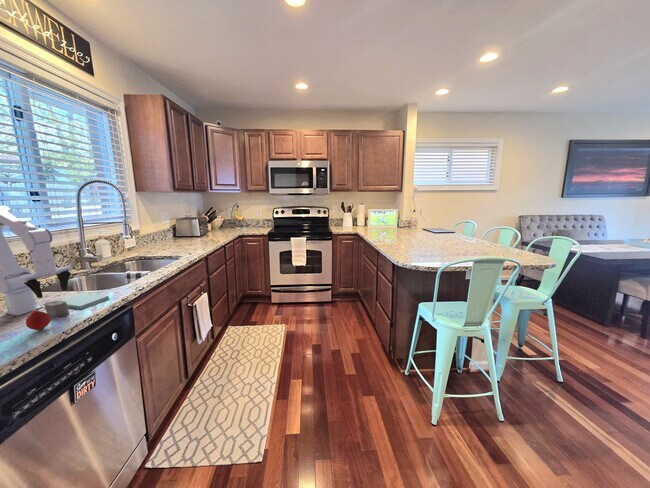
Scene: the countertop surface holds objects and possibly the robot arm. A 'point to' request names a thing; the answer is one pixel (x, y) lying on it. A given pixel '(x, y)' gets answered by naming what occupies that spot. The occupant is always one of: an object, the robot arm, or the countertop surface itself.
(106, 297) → the board
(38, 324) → the onion
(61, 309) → the connector
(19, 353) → the countertop surface
